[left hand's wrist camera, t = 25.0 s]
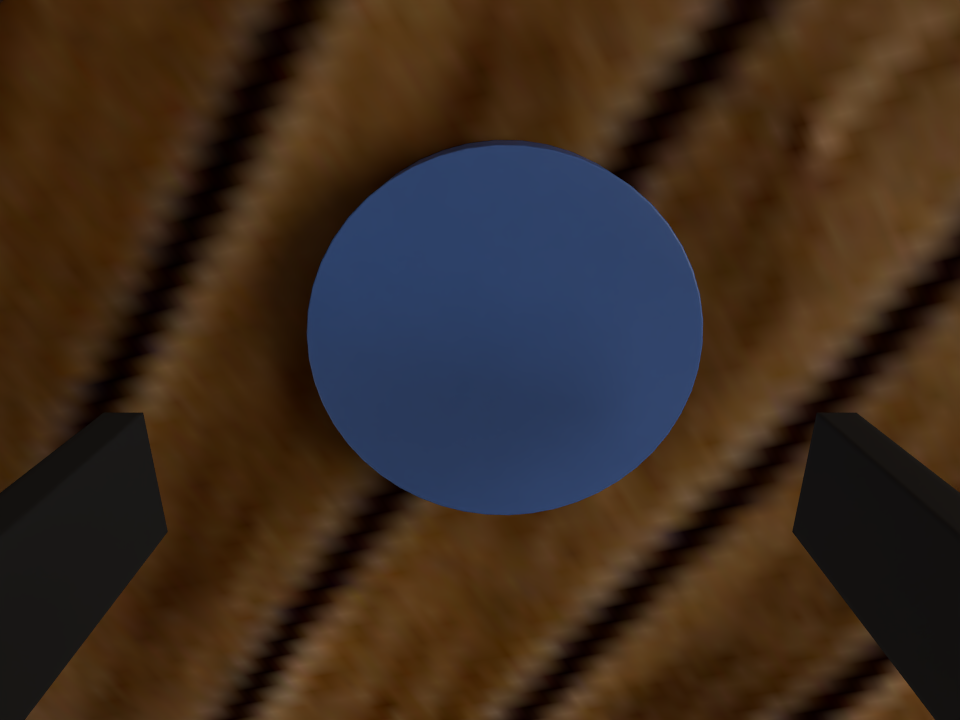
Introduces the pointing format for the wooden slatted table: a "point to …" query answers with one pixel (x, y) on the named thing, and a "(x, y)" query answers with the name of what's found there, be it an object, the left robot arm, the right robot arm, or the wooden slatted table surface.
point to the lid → (504, 328)
